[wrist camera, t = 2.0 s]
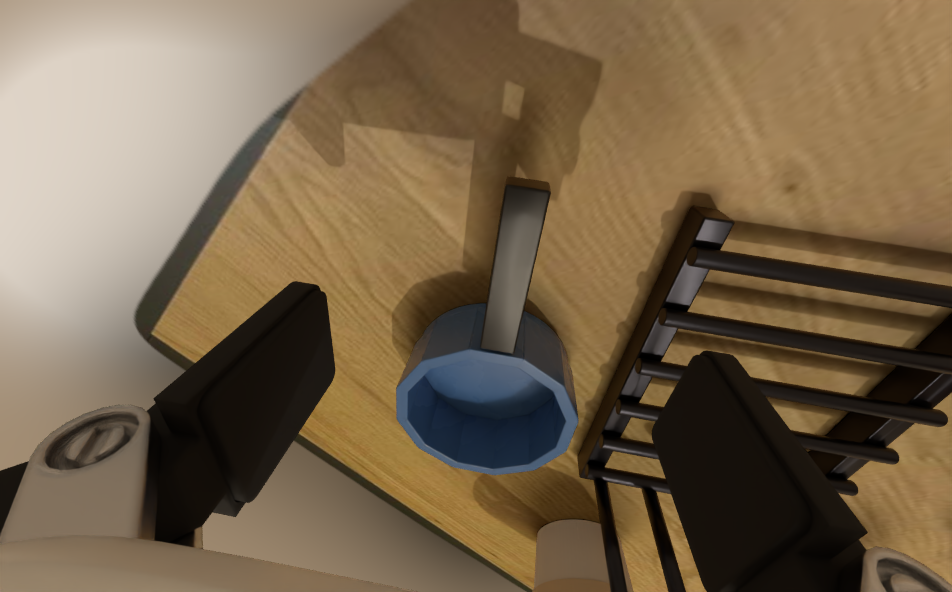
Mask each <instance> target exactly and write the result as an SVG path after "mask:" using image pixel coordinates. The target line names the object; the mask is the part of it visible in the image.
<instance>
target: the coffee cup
mask: <svg viewBox="0 0 952 592" xmlns="http://www.w3.org/2000/svg"><path fill="white" fill-rule="evenodd" d="M617 537H618V542H619V547H620V553H621V558H622V564H623V569H624V575H625V580H626V585H627V591H628V592H633V588H632V584H631V580H630V576H629V573H628V569H627V565H626V561H625V557H624V553H623V549H622V545H621V541H620V538H619V536H618V535H617ZM532 592H611V590H610V584H609V577H608V571H607V564H606V557H605V551H604V544H603V538H602V531H601V524H599V523H596V522H592V521H587V520H577V519H569V520H560V521H555V522H552V523H549V524H547V525H545V526H543V527H542V528H541V529H540V530H539V531H538V534H537V545H536V563H535V582H534V590H533V591H532Z"/></svg>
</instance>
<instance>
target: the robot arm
mask: <svg viewBox="0 0 952 592" xmlns="http://www.w3.org/2000/svg"><path fill="white" fill-rule="evenodd" d="M334 375H335V363H334V354H333V346H332V338H331V330H330V321H329V313H328V305H327V297H326V294H325V292H322V291H321V290H320V288H319V286H317V285H315V284H309V283H303V282H297V281H295V282H292V283H290V284H289V285H288V286H287V287H285V288H284V289H283V290H282V291H281V292H280V293H278V294H277V295H276V296H275V297H274V298H272V299H271V300H270V301H269V302H268V303H266V304H265V305H264V306H263V307H262V308H260V309H259V310H258V311H257V312H256V313H255V314H253V315H252V316H251V317H250V318H249V319H247V320H246V321H245V322H244V323H243V324H241V325H240V326H239V327H238V328H237V329H236V330H234V331H233V332H232V333H231V334H230V335H228V336H227V337H226V338H225V339H224V340H222V341H221V342H220V343H219V344H218V345H216V346H215V347H214V348H213V349H212V350H211V351H209V352H208V353H207V354H206V355H205V356H203V357H202V358H201V359H200V360H199V361H197V362H196V363H195V364H194V365H193V366H192V367H190V368H189V369H188V370H187V371H186V372H184V373H183V374H182V375H181V376H180V377H178V378H177V379H176V380H175V381H174V382H173V383H172V384H170V385H169V386H168V387H167V388H165V389H164V390H163V391H162V392H161V393H160V394H158V395H157V396H156V397H155V398H154V401H155V402H156V404H155V405H153V406H152V407H151V408H150V409H149V410H147V411H145V410H144V409H143V408H141V407H138V406H134V405H115V406H109V407H104V408H100V409H97V410H94V411H91V412H88V413H85V414H83V415H81V416H79V417H77V418H75V419H73V420H71V421H69V422H67V423H65V424H64V425H62V426H61V427H59V428H58V429H56V430H55V431H53V432H52V433H50V434H49V435H48V436H47V437H46V438H45V439H44V440H43V441H42V442H41V443H40V444H39V445H38V446H37V448H36V449H35V451H34V453H33V454H32V456H31V457H30V460H29V461H28V462H25V463H22V464H19V465H16V466H13V467H10V468H7V469H4V470H1V471H0V592H417V591H412V590H407V589H402V588H398V587H393V586H388V585H383V584H378V583H373V582H368V581H363V580H358V579H353V578H348V577H343V576H338V575H333V574H328V573H323V572H318V571H313V570H308V569H303V568H299V567H293V566H289V565H283V564H279V563H273V562H269V561H264V560H259V559H254V558H248V557H243V556H237V555H232V554H226V553H221V552H215V551H210V550H204V549H203V540H202V539H203V538H202V525H203V524H204V523H205V521H206V520H207V518H208V517H209V516H210V515H211V513H212V512H214V513H219V514H223V515H228V516H233V517H236V516H237V514H238V513H239V511H240V510H241V508H242V507H243V505H244V504H245V503H246V502H247V503H249V502H251V501H253V500H254V499H255V498H256V496H257V495H258V494H259V492H260V490H261V489H262V488H263V486H264V485H265V483H266V482H267V480H268V479H269V477H270V475H271V474H272V472H273V471H274V469H275V468H276V466H277V465H278V463H279V462H280V460H281V459H282V457H283V456H284V454H285V452H286V451H287V450H288V448H289V447H290V445H291V443H292V442H293V440H294V439H295V437H296V436H297V434H298V433H299V431H300V430H301V428H302V427H303V425H304V424H305V422H306V421H307V419H308V418H309V416H310V415H311V413H312V412H313V410H314V409H315V407H316V405H317V404H318V402H319V401H320V399H321V398H322V396H323V395H324V393H325V392H326V390H327V389H328V387H329V386H330V384H331V383H332V381H333V378H334ZM652 440H653V443H654V446H655V449H656V452H657V455H658V457H659V460H660V463H661V466H662V469H663V472H664V475H665V477H666V480H667V483H668V486H669V489H670V492H671V495H672V498H673V500H674V503H675V506H676V509H677V512H678V515H679V518H680V521H681V523H682V526H683V529H684V532H685V535H686V538H687V541H688V544H689V546H690V549H691V552H692V555H693V558H694V561H695V564H696V567H697V569H698V572H699V575H700V578H701V581H702V583H703V586H704V588H705V589H706V591H707V592H952V585H951V584H949V583H948V582H947V581H946V580H945V579H944V578H942V577H941V576H939V575H938V574H937V573H935V572H934V571H932V570H931V569H930V568H928V567H927V566H925V565H924V564H922V563H920V562H919V561H917V560H915V559H913V558H911V557H910V556H908V555H906V554H904V553H901V552H898V551H895V550H893V549H890V548H883V547H874V548H871V549H869V550H866V549H865V548H864V547H863V545H862V544H861V542H860V541H859V539H860V538H861V537H863V536H864V535H865V534H867V533H868V532H867V531H866V529H865V528H864V527H863V526H862V524H861V523H860V522H859V520H858V519H857V518H856V516H855V515H854V514H853V512H852V511H851V510H850V508H849V507H848V506H847V504H846V503H845V502H844V500H843V499H842V498H841V496H840V495H839V494H838V492H837V491H836V490H835V488H834V487H833V486H832V484H831V483H830V482H829V481H828V479H827V478H826V477H825V475H824V474H823V473H822V471H821V470H820V469H819V467H818V466H817V465H816V463H815V462H814V461H813V459H812V458H811V457H810V455H809V454H808V453H807V451H806V450H805V449H804V447H803V446H802V445H801V443H800V442H799V441H798V439H797V438H796V437H795V436H794V434H793V433H792V432H791V430H790V429H789V428H788V426H787V425H786V424H785V422H784V421H783V420H782V418H781V417H780V416H779V414H778V413H777V412H776V410H775V409H774V408H773V406H772V405H771V404H770V402H769V401H768V400H767V398H766V397H765V396H764V394H763V393H762V392H761V391H760V389H759V388H758V387H757V385H756V384H755V383H754V381H753V380H752V379H751V377H750V376H749V375H748V373H747V372H746V371H745V369H744V368H743V367H742V365H741V364H740V363H739V361H738V360H737V359H736V358H735V357H734V356H733V355H730V354H725V353H719V352H713V351H703V352H702V353H701V354H700V355H695V356H694V357H693V358H692V359H691V361H690V362H689V364H688V366H687V368H686V369H685V371H684V373H683V375H682V376H681V378H680V380H679V382H678V383H677V385H676V387H675V389H674V390H673V392H672V394H671V396H670V397H669V399H668V401H667V403H666V405H665V406H664V408H663V410H662V412H661V413H660V415H659V417H658V419H657V420H656V422H655V424H654V426H653V429H652Z"/></svg>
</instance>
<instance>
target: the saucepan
mask: <svg viewBox="0 0 952 592" xmlns="http://www.w3.org/2000/svg"><path fill="white" fill-rule="evenodd" d="M550 194H551V192H550V185H549V183H548V182H544V181H537V180H531V179H524V178H517V177H511V176H509V177H507V179H506V183H505V188H504V194H503V201H502V207H501V214H500V220H499V226H498V233H497V239H496V245H495V252H494V258H493V265H492V271H491V277H490V284H489V290H488V297H487V303H479V304H470V305H465V306H461V307H458V308H455V309H452V310H450V311H448V312H446V313H444V314H442V315H441V316H439V317H438V318H437V319H435V320H434V321H433V322H432V323H431V324H430V325H429V326H428V327H427V328H426V330H425V331H424V333H423V335H422V337H421V338H420V339H419V340H418V342H417V343H416V344H415V346H414V348H413V351H412V353H411V355H410V358H409V360H408V362H407V365H406V367H405V369H404V372H403V374H402V376H401V378H400V381H399V383H398V385H397V388H396V402H397V420H398V422H399V423H400V424H401V426H402V427H403V428H404V430H405V431H406V432H407V434H408V435H409V436H410V438H411V439H412V440H413V442H414V443H415V444H416V446H417V447H419V449H421V450H423V451H425V452H427V453H428V454H430V455H432V456H434V457H436V458H437V459H439V460H441V461H443V462H445V463H446V464H448V465H450V466H452V467H455V468H460V469H465V470H470V471H475V472H480V473H486V474H491V475H501V474H509V473H517V472H525V471H533V470H536V469H537V468H539V467H541V466H543V465H544V464H546V463H548V462H549V461H551V460H553V459H554V458H556V457H558V456H559V455H561V454H563V453H564V452H565V451H566V450H567V448H568V446H569V443H570V441H571V438H572V436H573V434H574V431H575V429H576V426H577V424H578V413H577V405H576V398H575V390H574V383H573V375H572V370H571V368H570V365H569V363H568V357H567V353H566V350H565V348H564V346H563V344H562V342H561V340H560V339H559V337H558V336H557V334H556V333H555V332H554V331H553V330H552V329H551V328H550V327H549V326H548V325H546V324H545V323H544V322H543V321H542V320H540V319H538V318H537V317H535V316H534V315H532V314H530V313H527V312H525V311H524V308H525V304H526V299H527V295H528V291H529V286H530V282H531V278H532V273H533V269H534V264H535V260H536V256H537V251H538V247H539V242H540V238H541V234H542V229H543V225H544V221H545V216H546V212H547V207H548V203H549V199H550Z"/></svg>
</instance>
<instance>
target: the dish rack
mask: <svg viewBox="0 0 952 592" xmlns="http://www.w3.org/2000/svg"><path fill="white" fill-rule="evenodd" d="M733 225H734V221H733V220H731V219H730V218H729V217H727V216H726V215H725V214H723V213H722V212H720V211H719V210H716V209H710V208H703V207H696V206H691V207H690V209H689V211H688V213H687V216H686V218H685V220H684V222H683V224H682V227H681V229H680V231H679V233H678V236H677V238H676V240H675V242H674V244H673V247H672V249H671V251H670V253H669V256H668V258H667V260H666V262H665V264H664V267H663V269H662V271H661V273H660V276H659V278H658V280H657V282H656V284H655V287H654V289H653V291H652V293H651V296H650V298H649V300H648V302H647V304H646V307H645V309H644V311H643V313H642V316H641V318H640V320H639V322H638V324H637V327H636V329H635V331H634V333H633V336H632V338H631V340H630V342H629V344H628V347H627V349H626V351H625V353H624V355H623V358H622V360H621V362H620V364H619V367H618V369H617V371H616V373H615V375H614V378H613V380H612V382H611V384H610V387H609V389H608V391H607V393H606V395H605V398H604V400H603V402H602V404H601V407H600V409H599V411H598V413H597V415H596V418H595V420H594V422H593V424H592V427H591V429H590V431H589V433H588V435H587V438H586V440H585V442H584V444H583V447H582V449H581V451H580V453H579V455H578V467H579V475H580V478H585V479H590V480H594V485H595V491H596V498H597V505H598V511H599V518H600V524H601V531H602V538H603V544H604V551H605V557H606V564H607V571H608V577H609V584H610V590H611V592H628V591H627V585H626V580H625V575H624V569H623V564H622V558H621V553H620V547H619V542H618V537H617V531H616V526H615V520H614V515H613V509H612V504H611V499H610V493H609V488H608V482H610V483H616V484H621V485H626V486H631V487H637V488H641V489H642V493H643V497H644V500H645V504H646V508H647V512H648V516H649V519H650V523H651V527H652V531H653V535H654V538H655V542H656V546H657V550H658V554H659V557H660V561H661V565H662V569H663V573H664V576H665V580H666V584H667V588H668V591H669V592H686V590H685V587H684V583H683V580H682V577H681V573H680V570H679V567H678V563H677V560H676V557H675V553H674V550H673V546H672V543H671V540H670V536H669V533H668V530H667V526H666V523H665V519H664V516H663V513H662V509H661V506H660V503H659V499H658V496H657V492H663V493H668V494H671V492H670V489H669V486H668V483H667V480H666V479H664V478H659V477H653V476H648V475H643V474H638V473H632V472H627V471H622V470H617V469H611V468H606V467H605V465H606V463H607V462H608V460H609V458H610V456H611V454H612V452H613V451H616V452H621V453H627V454H632V455H637V456H643V457H648V458H653V459H658V460H659V457H658V455H657V452H656V449H655V446H654V444H653V443H647V442H642V441H636V440H631V439H626V438H620V437H621V435H622V433H623V432H624V430H625V428H626V426H627V424H628V422H629V420H630V418H631V417H634V418H639V419H645V420H650V421H656V420H657V419H658V417H659V415H660V413H661V412H662V410H663V408H664V407H660V406H654V405H649V404H643V403H639V402H640V400H641V398H642V396H643V394H644V392H645V390H646V388H647V386H648V385H649V383H650V381H651V379H652V377H657V378H662V379H668V380H674V381H679V380H680V378H681V376H682V375H683V373H684V371H685V369H686V368H687V366H684V365H678V364H672V363H667V362H661V360H662V358H663V356H664V355H665V353H666V351H667V349H668V347H669V345H670V343H671V341H672V340H673V338H674V336H675V334H676V332H677V330H678V329H684V330H690V331H696V332H702V333H708V334H714V335H720V336H726V337H732V338H738V339H744V340H750V341H755V342H761V343H767V344H773V345H779V346H785V347H791V348H797V349H803V350H809V351H815V352H821V353H827V354H833V355H838V356H844V357H850V358H856V359H862V360H868V361H874V362H880V363H886V364H892V365H898V367H897V368H896V369H895V370H894V371H893V372H892V373H891V374H890V375H889V376H888V377H887V378H886V379H885V380H884V381H883V382H882V383H881V384H879V385H878V386H877V387H876V388H875V389H874V390H873V391H872V392H871V393H870V394H869V395H868V396H867V397H862V396H856V395H851V394H845V393H839V392H833V391H828V390H822V389H816V388H810V387H805V386H799V385H793V384H787V383H782V382H776V381H770V380H764V379H759V378H753V377H751V379H752V380H753V381H754V383H755V384H756V385H757V387H758V388H759V389H760V391H761V392H762V393H763V394H764V396H765V397H770V398H776V399H782V400H787V401H793V402H799V403H804V404H810V405H816V406H821V407H827V408H833V409H838V410H844V411H850V412H851V413H850V414H849V415H848V416H847V417H846V418H844V419H843V420H842V421H841V422H840V423H839V424H838V425H837V426H836V427H835V428H834V429H833V430H832V431H831V432H830V433H829V434H828V435H827V436H821V435H815V434H810V433H804V432H798V431H793V430H791V432H792V433H793V434H794V436H795V437H796V438H797V439H798V441H799V442H800V443H801V445H802V446H803V447H804V449H809V450H812V451H811V452H809V453H808V454H809V455H810V457H811V458H812V459H813V461H814V462H815V463H816V465H817V466H818V467H819V469H820V470H821V471H822V473H823V474H824V475H825V477H826V478H827V479H828V481H829V482H830V483H831V484H832V486H833V487H834V488H835V490H836V491H837V492H838V493H840V494H845V495H850V496H855V495H856V494H857V493H858V487H857V485H856V484H855V483H854V482H853V481H851V480H847V479H848V478H849V477H850V476H852V475H853V474H854V473H855V472H856V471H858V470H859V469H860V468H861V467H863V466H864V465H865V464H866V463H867V462H869V461H875V462H881V463H886V464H896V463H898V461H899V455H898V453H897V452H896V451H895V450H893V449H892V448H887V446H888V445H889V444H890V443H891V442H893V441H894V440H895V439H896V438H897V437H899V436H900V435H901V434H902V433H903V432H905V431H906V430H907V429H908V428H910V427H911V426H912V425H913V424H914V423H918V424H924V425H929V426H935V427H942V426H945V425H946V424H947V422H948V417H947V415H946V414H945V413H944V412H942V411H940V410H937V409H932V408H934V407H935V406H936V405H937V404H938V403H940V402H941V401H942V400H943V399H944V398H946V397H947V396H948V395H949V394H950V393H952V315H950V316H949V317H948V318H947V319H946V320H945V321H944V322H943V323H942V324H941V325H940V326H939V327H938V328H937V329H936V330H935V331H934V332H933V333H932V334H931V335H930V336H929V337H928V338H927V339H926V340H925V341H924V342H923V343H922V344H921V345H920V346H919V347H918V348H917V349H916V350H915V349H909V348H903V347H897V346H891V345H885V344H879V343H873V342H867V341H861V340H855V339H849V338H843V337H837V336H831V335H825V334H819V333H813V332H807V331H801V330H795V329H788V328H782V327H776V326H770V325H764V324H758V323H752V322H746V321H740V320H734V319H728V318H722V317H716V316H710V315H704V314H698V313H692V312H687V311H688V309H689V308H690V306H691V304H692V302H693V300H694V298H695V296H696V294H697V293H698V291H699V289H700V287H701V285H702V283H703V281H704V279H705V278H706V276H707V274H708V272H709V270H716V271H723V272H729V273H735V274H741V275H748V276H754V277H760V278H766V279H773V280H779V281H785V282H792V283H798V284H804V285H810V286H817V287H823V288H829V289H835V290H842V291H848V292H854V293H860V294H867V295H873V296H879V297H886V298H892V299H898V300H904V301H911V302H917V303H923V304H929V305H936V306H942V307H948V308H952V287H951V286H945V285H938V284H932V283H926V282H919V281H913V280H906V279H900V278H894V277H887V276H881V275H874V274H868V273H862V272H855V271H849V270H843V269H836V268H830V267H823V266H817V265H811V264H804V263H798V262H791V261H785V260H779V259H772V258H766V257H760V256H753V255H747V254H740V253H734V252H728V251H721V250H720V249H721V247H722V246H723V244H724V242H725V240H726V238H727V236H728V234H729V232H730V231H731V229H732V227H733ZM656 491H657V492H656Z"/></svg>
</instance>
